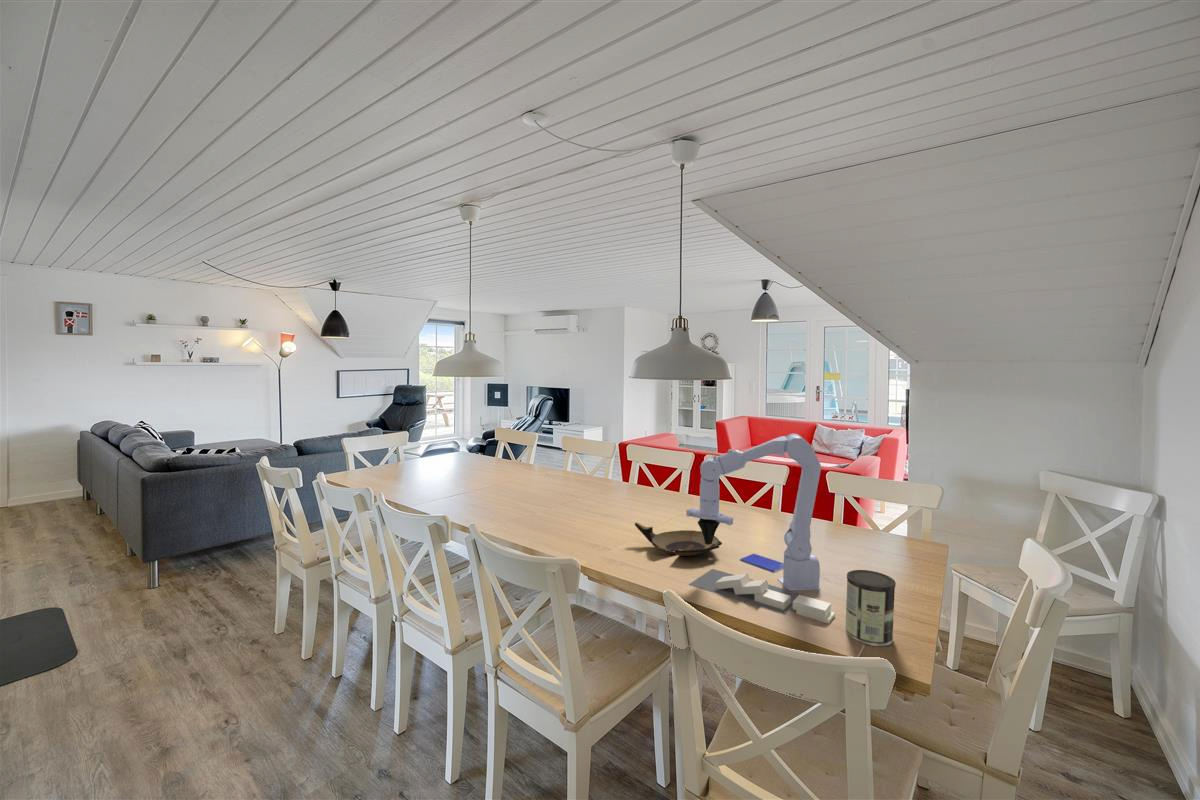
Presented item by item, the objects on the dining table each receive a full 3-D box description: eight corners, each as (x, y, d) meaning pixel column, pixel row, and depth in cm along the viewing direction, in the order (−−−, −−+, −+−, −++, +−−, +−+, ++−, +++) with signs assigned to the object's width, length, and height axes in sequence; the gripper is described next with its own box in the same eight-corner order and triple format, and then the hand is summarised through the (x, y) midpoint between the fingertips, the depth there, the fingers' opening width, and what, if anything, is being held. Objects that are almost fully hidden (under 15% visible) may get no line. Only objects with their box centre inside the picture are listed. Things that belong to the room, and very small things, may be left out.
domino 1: (725, 583, 151) (750, 580, 146) (717, 589, 147) (742, 586, 142) (723, 576, 151) (747, 573, 146) (715, 582, 147) (740, 579, 142)
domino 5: (802, 610, 137) (834, 620, 132) (796, 617, 133) (828, 627, 128) (803, 603, 137) (834, 612, 132) (796, 610, 133) (828, 620, 128)
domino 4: (799, 602, 138) (830, 610, 132) (792, 608, 134) (825, 618, 129) (799, 594, 137) (830, 603, 132) (792, 601, 134) (825, 610, 128)
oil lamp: (692, 572, 160) (692, 548, 160) (625, 546, 183) (625, 524, 182) (734, 554, 175) (734, 532, 174) (667, 532, 197) (668, 513, 197)
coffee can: (874, 623, 129) (877, 568, 128) (903, 645, 119) (906, 586, 118) (835, 625, 128) (838, 569, 127) (860, 648, 118) (863, 588, 117)
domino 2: (742, 588, 147) (768, 586, 142) (735, 594, 144) (761, 593, 139) (740, 581, 148) (766, 579, 143) (733, 587, 144) (759, 585, 139)
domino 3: (761, 594, 144) (790, 603, 139) (754, 600, 140) (783, 609, 135) (762, 587, 144) (790, 595, 139) (754, 593, 140) (783, 602, 135)
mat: (803, 595, 144) (803, 594, 144) (784, 616, 132) (784, 614, 132) (712, 569, 162) (712, 568, 162) (688, 585, 150) (688, 584, 150)
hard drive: (788, 564, 164) (754, 553, 174) (773, 570, 159) (740, 558, 168) (788, 568, 164) (754, 557, 174) (773, 575, 159) (739, 563, 169)
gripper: (681, 497, 156) (680, 541, 157) (726, 506, 147) (725, 553, 148) (693, 493, 161) (692, 535, 162) (736, 501, 152) (735, 546, 153)
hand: (708, 543), depth 155 cm, fingers closed
